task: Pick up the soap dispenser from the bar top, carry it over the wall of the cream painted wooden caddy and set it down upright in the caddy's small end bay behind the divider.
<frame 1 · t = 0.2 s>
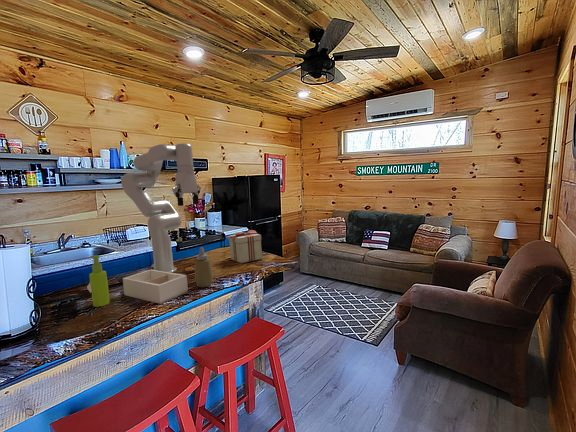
hand: (188, 204, 150), 37 cm above the countertop, tool pointing down, fingers open, 9 cm apart
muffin: (96, 293, 137), on the countertop
squeeze bottle: (204, 285, 140), on the countertop
soap dispenser: (101, 304, 124), on the countertop
gift box: (244, 259, 185), on the countertop
caddy: (156, 293, 133), on the countertop
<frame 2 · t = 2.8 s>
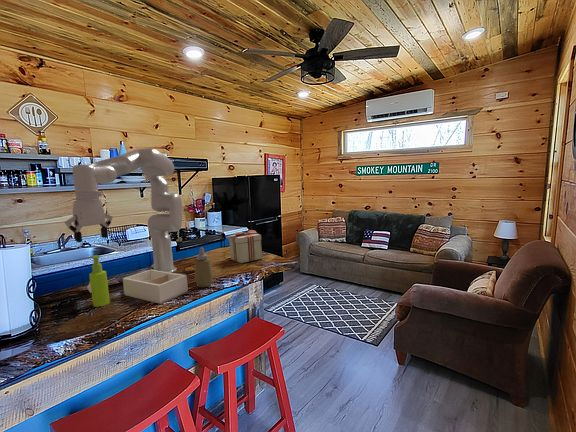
hand: (92, 239, 121), 27 cm above the countertop, tool pointing down, fingers open, 9 cm apart
nothing on the countertop moved.
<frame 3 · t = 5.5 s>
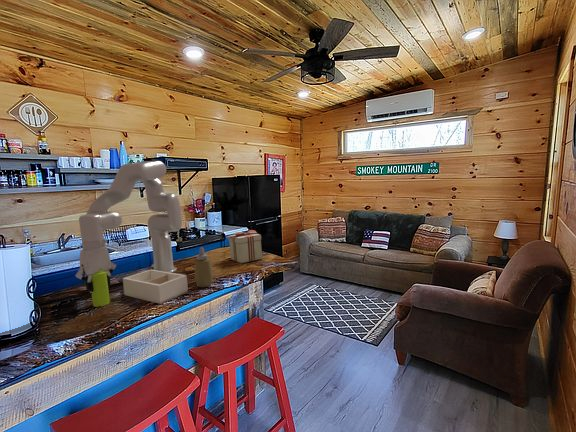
hand: (99, 288, 124), 7 cm above the countertop, tool pointing down, fingers closed on soap dispenser, 5 cm apart
soap dispenser: (101, 304, 124), on the countertop, touching gripper
everything else where it was.
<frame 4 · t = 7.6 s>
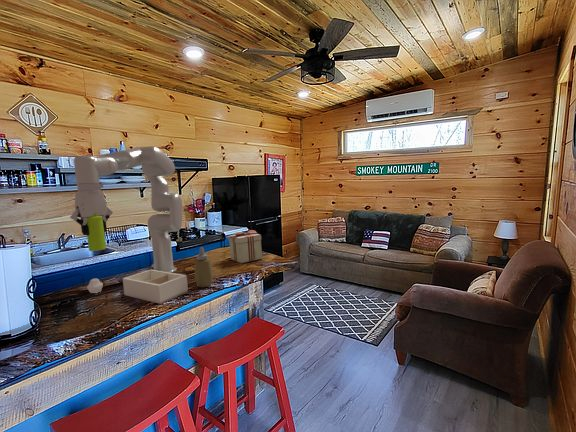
hand: (94, 233, 121), 29 cm above the countertop, tool pointing down, fingers closed on soap dispenser, 5 cm apart
soap dispenser: (97, 249, 122), point 22 cm above the countertop, touching gripper
everything else where it was.
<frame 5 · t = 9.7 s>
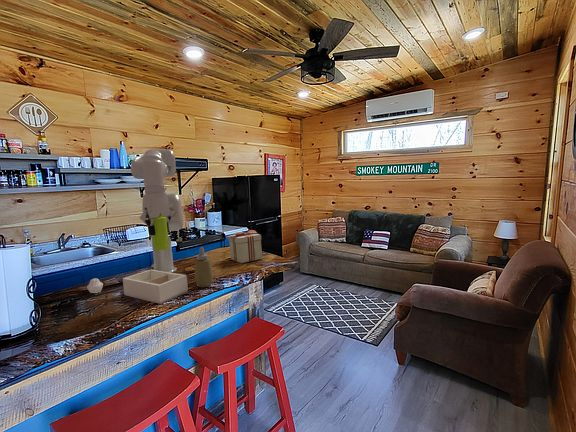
hand: (159, 233, 127), 27 cm above the countertop, tool pointing down, fingers closed on soap dispenser, 5 cm apart
soap dispenser: (161, 249, 128), point 20 cm above the countertop, touching gripper
everything else where it was.
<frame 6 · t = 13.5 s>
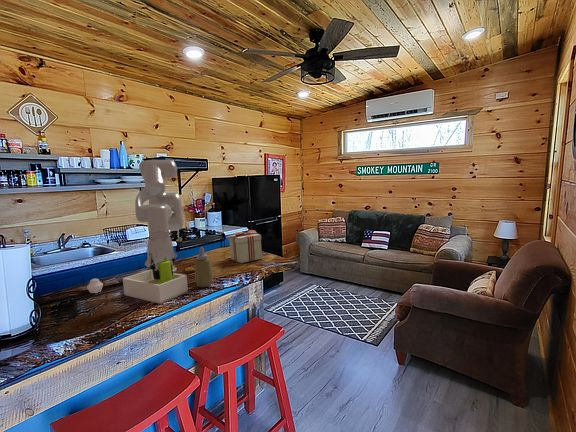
hand: (163, 276, 129), 8 cm above the countertop, tool pointing down, fingers closed on soap dispenser, 5 cm apart
soap dispenser: (165, 291, 130), point 2 cm above the countertop, touching gripper
everything else where it was.
when the fingers open (8 cm above the countertop, at t = 13.8 s): soap dispenser stays where it is, resting on caddy.
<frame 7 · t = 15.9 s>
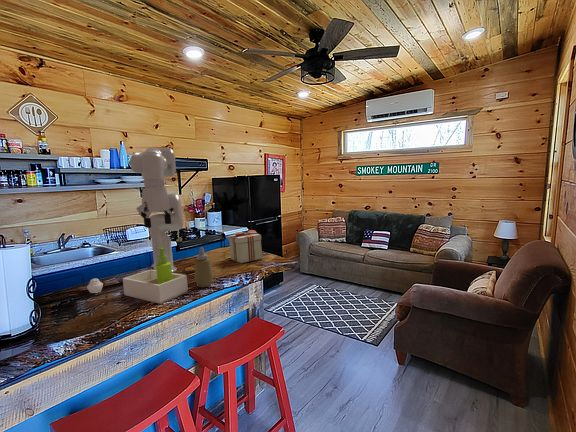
hand: (158, 225, 127), 30 cm above the countertop, tool pointing down, fingers open, 9 cm apart
soap dispenser: (165, 293, 130), point 1 cm above the countertop, touching caddy
everything else where it was.
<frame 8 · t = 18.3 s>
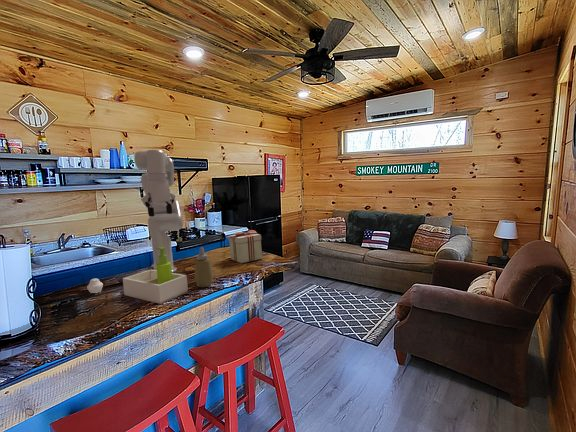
hand: (160, 214, 140), 33 cm above the countertop, tool pointing down, fingers open, 9 cm apart
nothing on the countertop moved.
at the end: soap dispenser inside the target area on the caddy (0.5 cm from its centre), point 0.6 cm above the caddy's base; soap dispenser tilted 0°; the gripper is holding nothing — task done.
